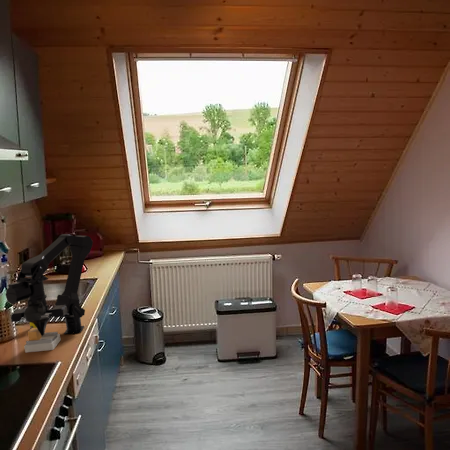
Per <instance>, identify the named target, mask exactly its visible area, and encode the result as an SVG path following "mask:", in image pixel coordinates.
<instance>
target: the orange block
mask: <svg viewBox="0 0 450 450" xmlns="http://www.w3.org/2000/svg"><path fill="white" fill-rule="evenodd" d="M27 335H28V341H31V340H40V339H41V334H40V332H39V330H38V329H37V328H32V329H29V330H28V332H27Z"/></svg>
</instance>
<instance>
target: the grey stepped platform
mask: <svg viewBox="0 0 450 450" xmlns="http://www.w3.org/2000/svg"><path fill="white" fill-rule="evenodd" d="M61 340H62V339H61V333H59V332H58V331H51V332H45V333H44V335H43V336H42V335H41V339H40V340H31V341H29V340H26V342H25V345H24V352H25V353H35V352H43V351H46V352H47V351H53V350H55V348H56V347H57V345H58V344H59V343H60V342H61Z"/></svg>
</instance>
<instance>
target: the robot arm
mask: <svg viewBox="0 0 450 450" xmlns="http://www.w3.org/2000/svg"><path fill="white" fill-rule="evenodd" d="M93 243H94V241H93V240H92V238H91V237H90V236H88V235H72V234H68V233H67V234H65V233H64V234H63V233H62V234H60V235H58V238H57V239H55V240H54V241H53V242H52V243H51V244H49V246H48V247H46V248H45V249H44V250H43V251H42V252H40V254H37V255H36V256H34V257H33V256H32V257H31V258H29V259H27V260H26V261H25V262H23V263H22V264H21V269H20V270H19V273H18V275H17V278H16V280H15V281H16V282H13V283H9V284H8V285H7V287H8V288H7V289H6V291H5V298H6V301H7V302H8V303H10V304H13V305H14V304H17V303H19V302H22V301H25V300H27V307H26V308H23V309H16V310H15V311H14V312H13V313H11V315H10V321H11V323H15V322H20V321H21V320H22V319H23V318H24V319H25V321H26V322H28V323H29V322H32V323H33V324H34V325H35V326H36V327H37V329H38V330H39V332H40V334H41V335H42V336H43V335H44V333H46V327H47V324H48V321H49V320H50V318H51V317H53V318H65V325H66V326H65V328H66V330H65V331H64V335H69V334H70V335H71V334H80V333H82V332H83V329H84V328H85V326H84V325H82V320H81V319H82V317H83V316H85V312H86V310H85V309H84V308H83V307H82V306H80V298H79V295H78V292H79V287H80V281H81V277H82V273H83V267H84V264H85V259H86V257H87V256H88V255H89V254H90V252H91V250H92V248H93ZM67 247H69V249H70V250H69V251H70V253H71V260H70V265H69V269H68V272H67V277H66V282H65V286H64V290H63V292H62V293H61V294H57V296H56V302H55V303H54V305H55V306H54V307H53V308H50V309H48V308H49V305H48V304H47V297H48V296H47V294H46V292H45V285H44V281H48V280H49V277H46V276H45V275H44V274H45V273H46V271H47V270H48V268H49V265H50V263H51V262H53V260H55V259H56V258H57V257H58V256H59V255H60V254H61V253H62V252H63V251H64V250H65V249H67Z"/></svg>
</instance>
